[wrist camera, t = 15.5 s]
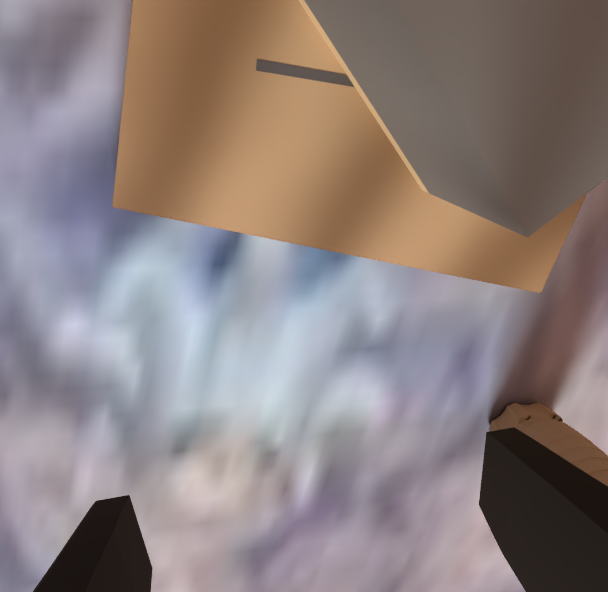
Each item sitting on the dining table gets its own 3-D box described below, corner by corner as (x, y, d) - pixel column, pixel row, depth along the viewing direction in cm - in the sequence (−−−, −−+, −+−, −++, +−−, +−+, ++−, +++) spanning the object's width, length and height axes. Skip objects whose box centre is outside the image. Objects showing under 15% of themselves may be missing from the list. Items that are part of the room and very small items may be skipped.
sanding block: (272, -39, 12) (308, -151, 7) (409, -166, 12) (566, -397, 6) (421, 190, 16) (527, 237, 10) (535, 99, 15) (713, 97, 9)
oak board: (120, 199, 15) (111, 207, 14) (170, -280, 11) (164, -322, 10) (522, 282, 19) (541, 293, 18) (671, -55, 15) (708, -67, 14)
